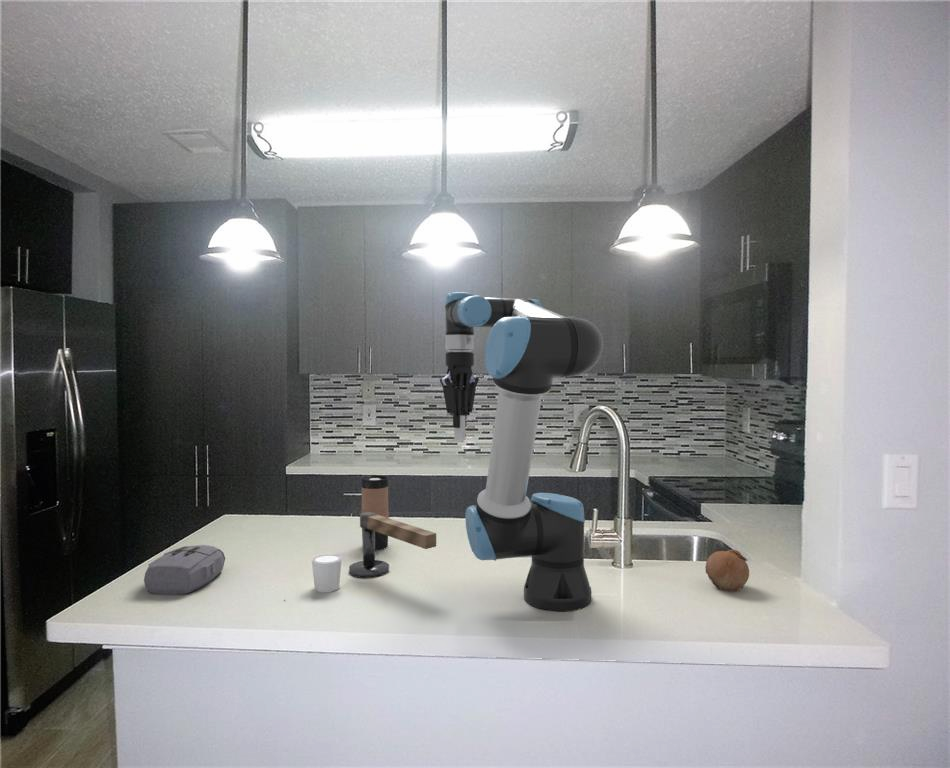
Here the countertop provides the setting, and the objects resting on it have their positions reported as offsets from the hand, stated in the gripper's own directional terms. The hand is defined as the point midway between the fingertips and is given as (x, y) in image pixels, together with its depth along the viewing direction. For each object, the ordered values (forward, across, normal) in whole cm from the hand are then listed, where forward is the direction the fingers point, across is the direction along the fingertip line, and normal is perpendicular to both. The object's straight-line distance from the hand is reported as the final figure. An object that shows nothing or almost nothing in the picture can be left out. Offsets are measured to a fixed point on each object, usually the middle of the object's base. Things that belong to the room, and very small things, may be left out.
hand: (459, 439), depth 165 cm
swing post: (+32, -22, +11) cm, 41 cm away
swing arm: (+21, -23, 0) cm, 31 cm away
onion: (+33, +27, -61) cm, 74 cm away
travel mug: (+33, -8, +26) cm, 42 cm away
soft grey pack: (+33, -56, +38) cm, 75 cm away
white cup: (+33, -36, +9) cm, 49 cm away
